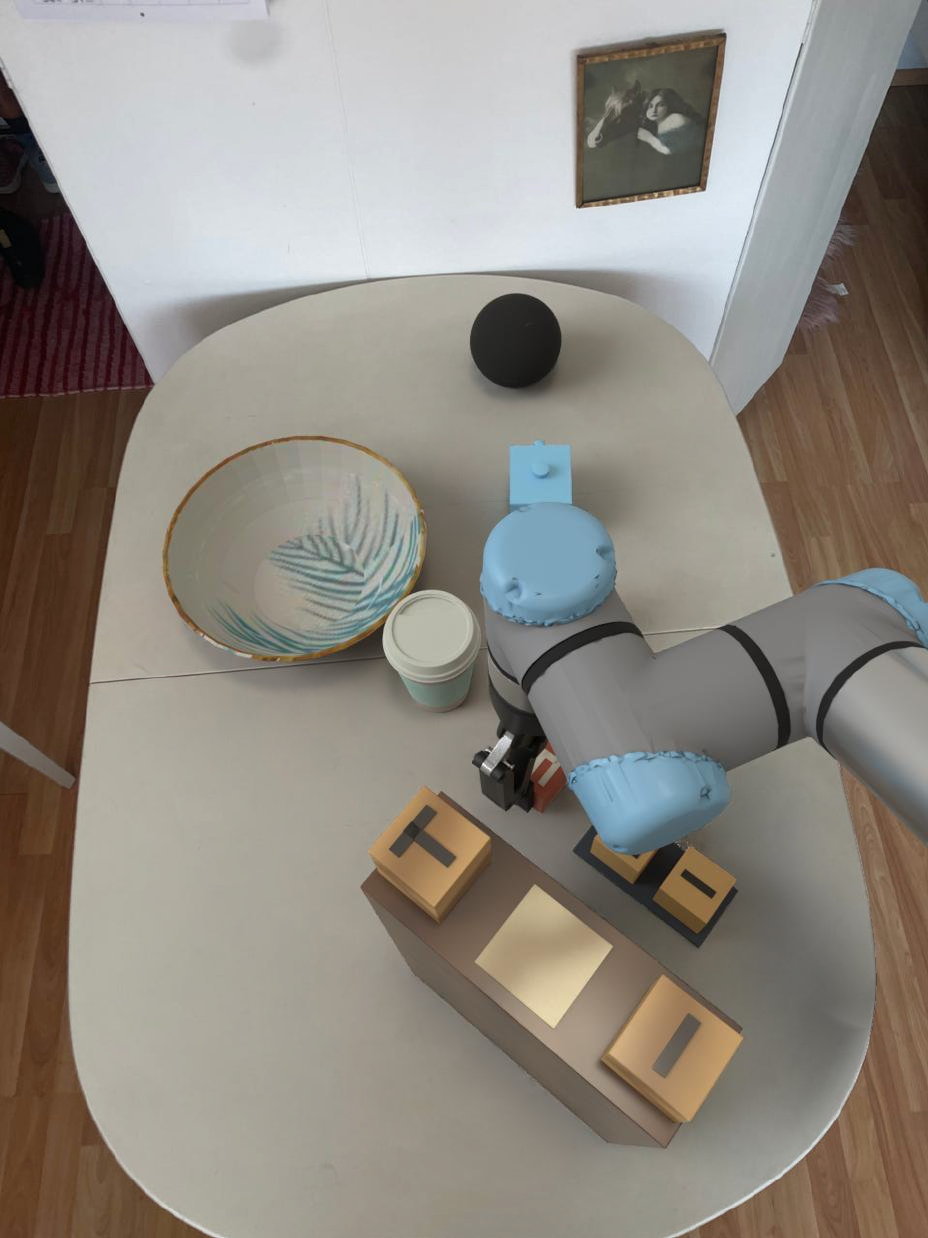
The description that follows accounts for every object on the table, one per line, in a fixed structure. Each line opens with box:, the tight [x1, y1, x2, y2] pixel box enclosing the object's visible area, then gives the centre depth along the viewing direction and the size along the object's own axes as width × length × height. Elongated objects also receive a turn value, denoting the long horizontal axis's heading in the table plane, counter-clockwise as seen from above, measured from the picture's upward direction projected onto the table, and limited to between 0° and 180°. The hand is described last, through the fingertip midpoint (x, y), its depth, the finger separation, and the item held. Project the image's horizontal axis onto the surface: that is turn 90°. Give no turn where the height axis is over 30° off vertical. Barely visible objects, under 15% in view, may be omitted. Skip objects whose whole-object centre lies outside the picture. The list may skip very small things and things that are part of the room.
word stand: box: [359, 785, 745, 1150], centre depth 64 cm, size 20×7×37 cm, turn 51°
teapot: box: [509, 439, 573, 514], centre depth 99 cm, size 12×6×8 cm, turn 179°
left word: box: [572, 824, 739, 949], centre depth 83 cm, size 13×6×5 cm, turn 51°
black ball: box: [469, 292, 563, 389], centre depth 107 cm, size 10×10×10 cm
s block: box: [530, 741, 567, 815], centre depth 86 cm, size 4×4×5 cm
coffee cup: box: [382, 589, 482, 713], centre depth 89 cm, size 8×8×12 cm
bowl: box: [162, 435, 428, 663], centre depth 97 cm, size 25×25×8 cm
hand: (536, 778), depth 88 cm, fingers closed on s block, 4 cm apart
